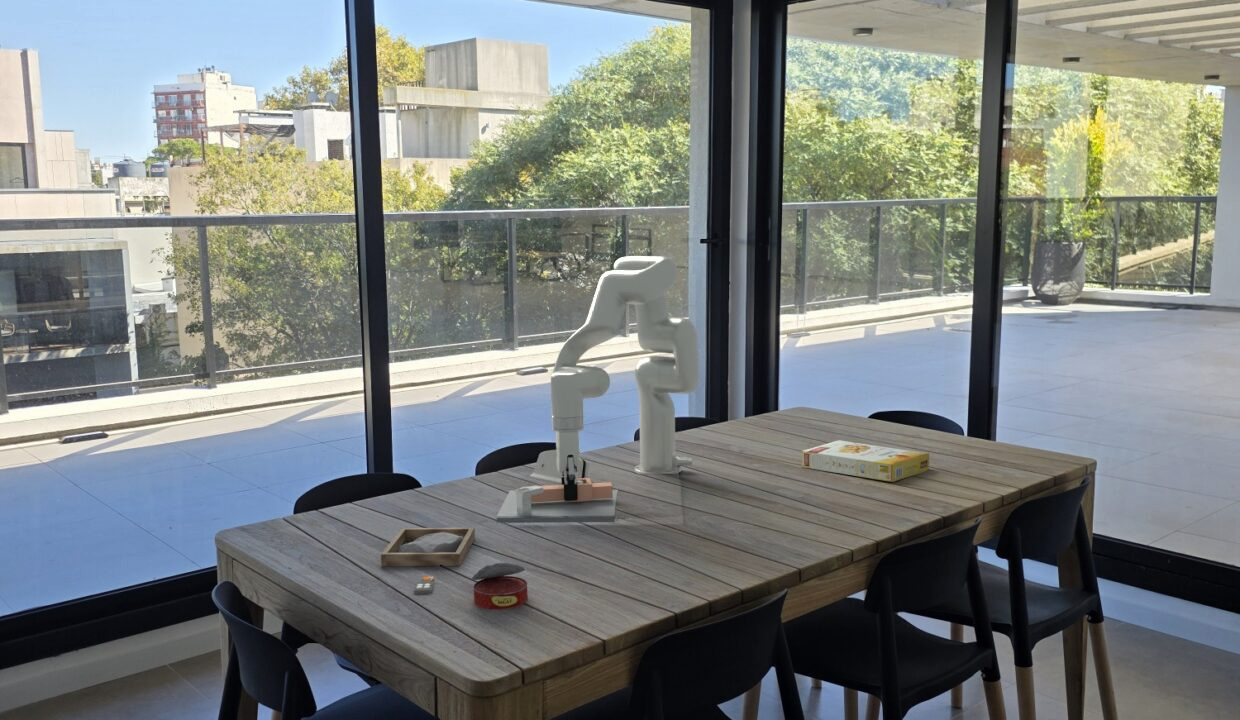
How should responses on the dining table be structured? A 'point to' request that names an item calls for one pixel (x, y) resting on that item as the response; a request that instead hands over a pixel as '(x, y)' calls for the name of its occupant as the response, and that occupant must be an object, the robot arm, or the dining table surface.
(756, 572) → the dining table surface
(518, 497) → the bracket
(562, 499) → the link
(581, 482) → the pin
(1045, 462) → the dining table surface
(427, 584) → the key chain
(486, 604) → the canned food
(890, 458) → the cereal box
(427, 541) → the stone block
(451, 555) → the tray
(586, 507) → the board
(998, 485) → the dining table surface
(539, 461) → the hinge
